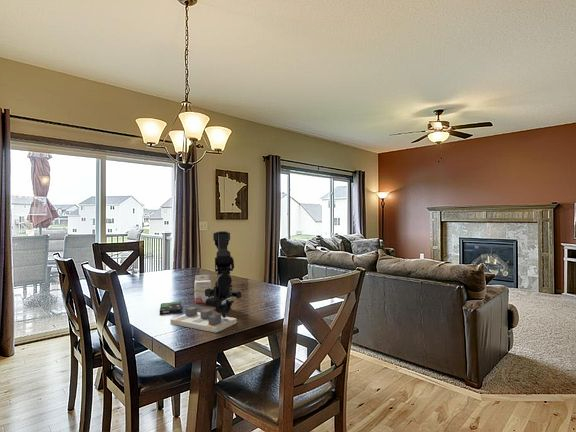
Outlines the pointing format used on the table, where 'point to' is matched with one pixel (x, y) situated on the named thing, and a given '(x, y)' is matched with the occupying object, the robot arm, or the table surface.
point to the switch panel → (202, 322)
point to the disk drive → (170, 308)
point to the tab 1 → (191, 311)
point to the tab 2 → (215, 319)
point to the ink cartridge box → (201, 288)
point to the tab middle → (206, 313)
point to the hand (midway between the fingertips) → (224, 317)
